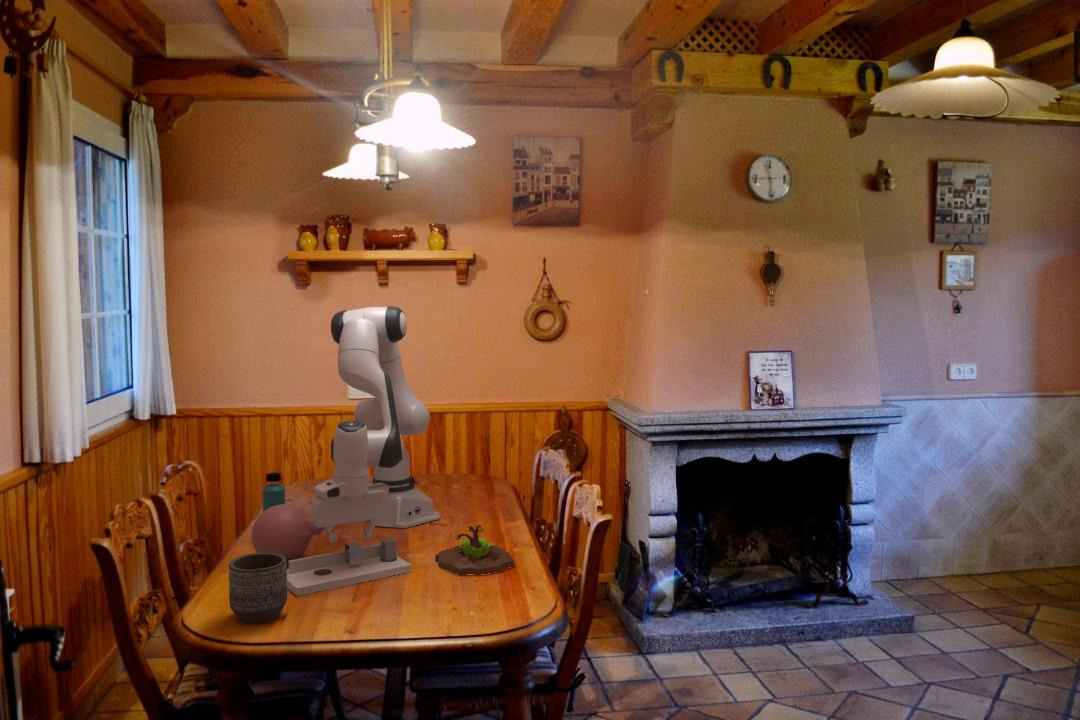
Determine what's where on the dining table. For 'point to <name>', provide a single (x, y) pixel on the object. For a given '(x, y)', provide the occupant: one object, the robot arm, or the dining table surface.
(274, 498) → the beverage bottle
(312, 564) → the grey peg board
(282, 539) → the balloon
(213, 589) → the dining table surface
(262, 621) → the planter
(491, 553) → the plant
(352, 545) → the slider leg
